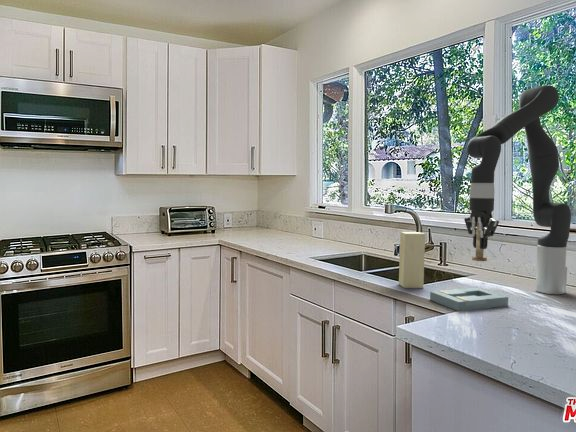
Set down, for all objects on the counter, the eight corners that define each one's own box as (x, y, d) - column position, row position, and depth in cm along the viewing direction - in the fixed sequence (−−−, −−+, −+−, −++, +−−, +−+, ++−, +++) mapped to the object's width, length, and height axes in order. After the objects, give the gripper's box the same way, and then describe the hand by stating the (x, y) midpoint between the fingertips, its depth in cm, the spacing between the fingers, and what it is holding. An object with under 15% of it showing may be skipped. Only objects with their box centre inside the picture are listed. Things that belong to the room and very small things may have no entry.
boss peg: (479, 258, 150) (481, 221, 150) (489, 260, 146) (491, 222, 145) (468, 259, 149) (470, 221, 148) (478, 261, 145) (480, 222, 144)
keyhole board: (476, 295, 157) (477, 286, 157) (507, 305, 144) (508, 296, 144) (430, 299, 151) (430, 291, 151) (458, 311, 138) (458, 301, 137)
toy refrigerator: (417, 283, 175) (419, 231, 174) (424, 288, 168) (425, 233, 166) (398, 283, 175) (399, 231, 174) (403, 288, 168) (404, 233, 166)
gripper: (507, 197, 141) (505, 250, 142) (475, 196, 154) (473, 245, 155) (488, 197, 138) (486, 251, 140) (458, 196, 151) (456, 245, 153)
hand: (479, 248), depth 147 cm, fingers closed on boss peg, 2 cm apart
